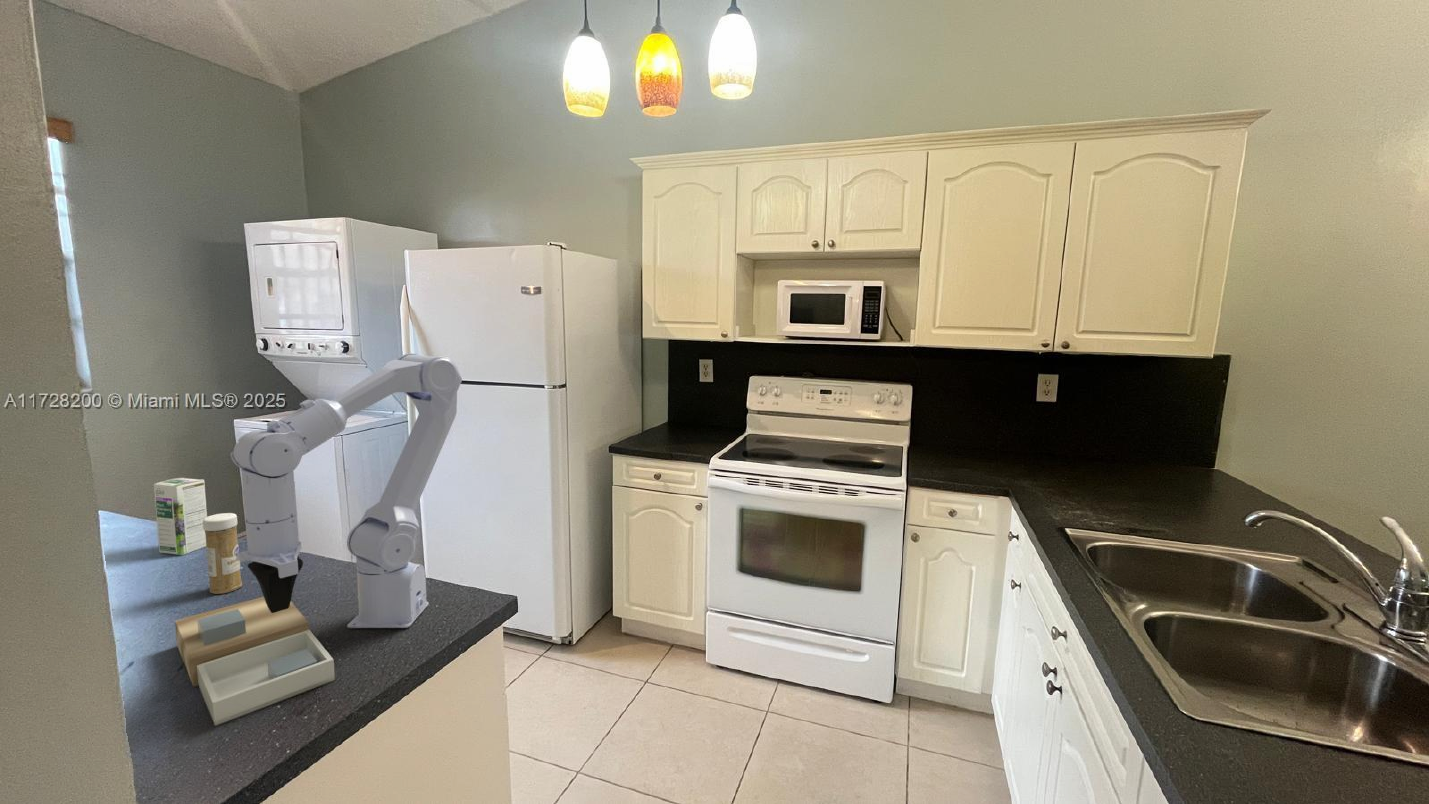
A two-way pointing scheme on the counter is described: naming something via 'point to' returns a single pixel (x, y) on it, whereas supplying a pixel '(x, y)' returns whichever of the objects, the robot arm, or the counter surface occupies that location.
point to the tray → (260, 677)
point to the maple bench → (258, 632)
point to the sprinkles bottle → (222, 552)
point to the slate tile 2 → (290, 663)
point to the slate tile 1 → (221, 626)
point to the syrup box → (180, 515)
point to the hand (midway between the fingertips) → (279, 609)
